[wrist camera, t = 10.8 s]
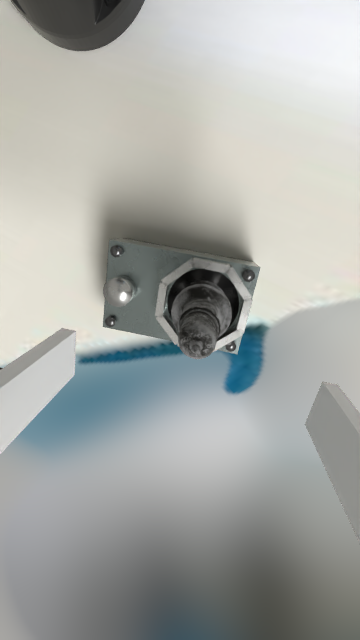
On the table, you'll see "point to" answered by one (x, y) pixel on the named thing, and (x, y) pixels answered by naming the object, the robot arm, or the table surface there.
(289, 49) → the table surface
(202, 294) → the dark grey tapered piece
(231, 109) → the table surface
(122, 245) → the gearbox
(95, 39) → the robot arm
